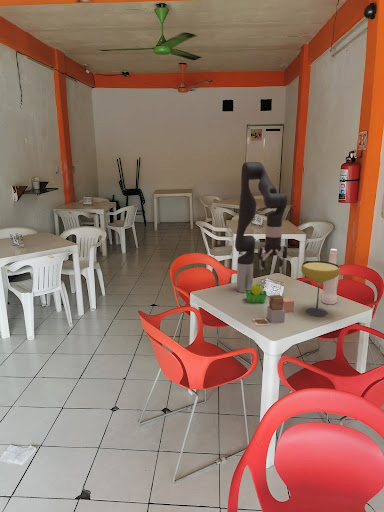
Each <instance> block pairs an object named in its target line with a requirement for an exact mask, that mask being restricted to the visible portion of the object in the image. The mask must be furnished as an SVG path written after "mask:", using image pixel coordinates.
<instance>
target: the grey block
mask: <svg viewBox="0 0 384 512" xmlns="http://www.w3.org/2000/svg"><path fill="white" fill-rule="evenodd" d="M285 315H286V313H285V310H284V309H283V310H277V311H273V310H272V309H271V308H270V307H269V306H267V309H266V319H267V320H268V322H269V323H270V324H275V323H285Z"/></svg>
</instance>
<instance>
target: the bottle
mask: <svg viewBox="0 0 384 512" xmlns="http://www.w3.org/2000/svg"><path fill="white" fill-rule="evenodd" d="M337 255H338V248H330V250H329V256H328V257H329V258H328V262H330V263H334V264H336V265H337ZM339 278H340V274H339V275H338V276H337V277H336V278H334V279H331V280H328V281H325V282H323V283H322V284H323V285H322V293H321V297H320V298H321V302H322V303H323V304H325V305H336V304H337V300H338V296H337V292H338V284H339Z"/></svg>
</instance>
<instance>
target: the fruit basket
mask: <svg viewBox="0 0 384 512" xmlns="http://www.w3.org/2000/svg"><path fill="white" fill-rule="evenodd" d="M245 292H246V293H245V297H246V301H247V303H257V304H259V303H260V304H264V303H265V301H266V298H267V295H268V294H267V290H263V289H262V286H261V285H260V283H255V284H253V286H252V290H245Z"/></svg>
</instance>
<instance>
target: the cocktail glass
mask: <svg viewBox="0 0 384 512" xmlns="http://www.w3.org/2000/svg"><path fill="white" fill-rule="evenodd" d="M300 268H301V273H302V274H303V275H304V276H305V277H307V278H308V279H310V280H312V281H313V282H314V283H315V284H316V285H317V294H316V295H317V297H316V305H315V307H310V308H309V307H308V308H307V309H305V313H306V314H307V315H310V316H313V317H317V318H321V317H326V316H328V315H329V312H328V310H325V309H323V308H319V296H320V286H321V285H322V284H323V282H325V281H328V280H331V279H334V278H336V277H337V276H338V275H339V276H340V270H341V269H340V266H339V265H338V264H337V263H336V264H334V263H330V262H329V261H325V260H310V261H309V260H308V261H305V262H303V263H302V264H301V267H300Z"/></svg>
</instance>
